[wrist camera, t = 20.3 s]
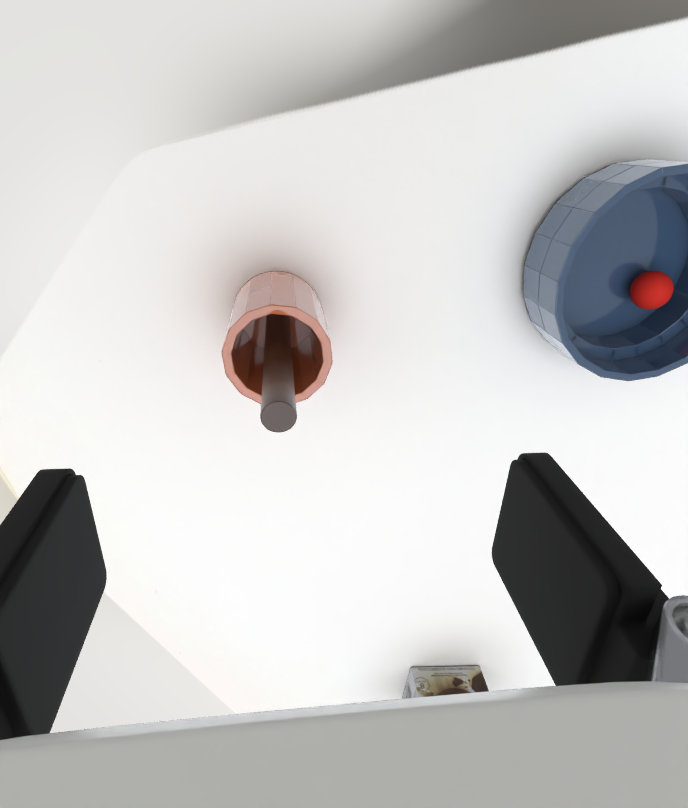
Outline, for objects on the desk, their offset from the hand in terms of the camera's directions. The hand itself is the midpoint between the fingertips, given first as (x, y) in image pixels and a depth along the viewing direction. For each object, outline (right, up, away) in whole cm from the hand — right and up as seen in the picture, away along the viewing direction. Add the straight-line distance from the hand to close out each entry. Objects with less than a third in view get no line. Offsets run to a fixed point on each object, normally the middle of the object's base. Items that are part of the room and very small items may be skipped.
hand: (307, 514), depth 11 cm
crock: (-4, +10, +29) cm, 31 cm away
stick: (-4, +9, +28) cm, 30 cm away
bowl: (+22, +14, +30) cm, 40 cm away
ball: (+25, +11, +29) cm, 40 cm away
